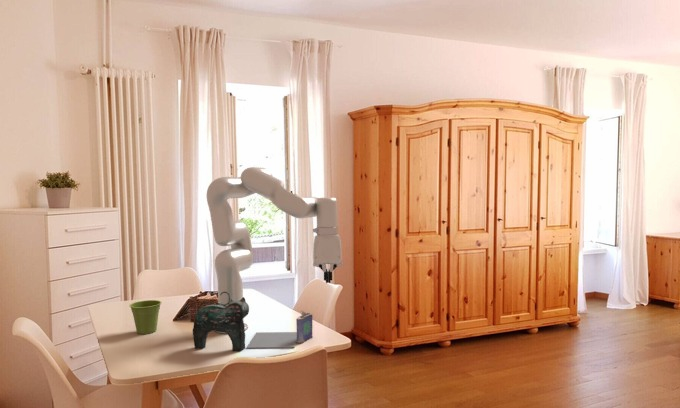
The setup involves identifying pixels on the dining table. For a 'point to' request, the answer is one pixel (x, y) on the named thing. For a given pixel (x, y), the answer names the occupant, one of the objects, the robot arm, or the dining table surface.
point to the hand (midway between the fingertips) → (328, 282)
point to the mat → (273, 340)
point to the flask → (304, 327)
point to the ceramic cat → (221, 322)
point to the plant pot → (146, 315)
